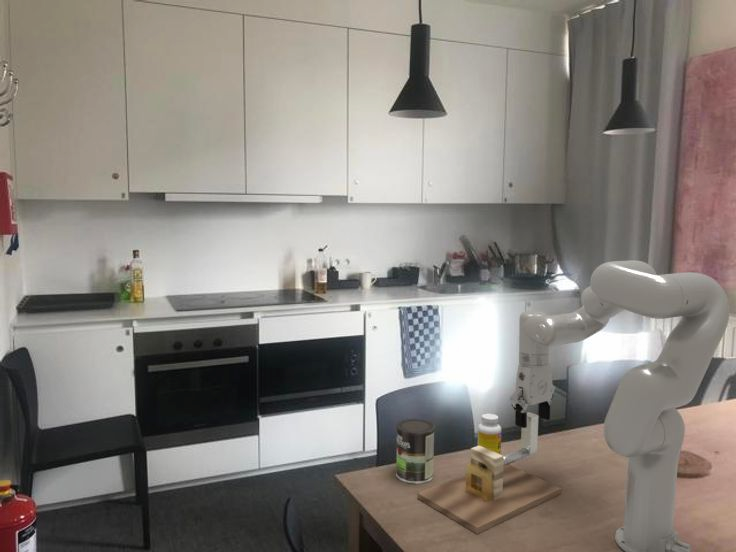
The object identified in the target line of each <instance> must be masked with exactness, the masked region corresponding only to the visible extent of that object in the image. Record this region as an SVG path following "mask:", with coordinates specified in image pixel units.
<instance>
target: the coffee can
mask: <svg viewBox="0 0 736 552" xmlns="http://www.w3.org/2000/svg"><path fill="white" fill-rule="evenodd" d="M435 427H436V426H435V424H434V423H432V421H429V420H424V419H420V418H409V419H408V418H407V419H403V420H400V421H398V422H397V423H396V462H395V463H396V469H395V470H396V471H395V477H396V478H397V479H398V480H399V481H401V482H403V483H407V484H411V485H415V484H416V485H420V484H422V485H423V484H426V483H429V482H431V481H432V480H433V479H434V459H435V457H434V455H435V454H434V452H435V451H434V450H435V448H434V447H435V430H436V429H435Z"/></svg>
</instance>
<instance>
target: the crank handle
mask: <svg viewBox="0 0 736 552" xmlns="http://www.w3.org/2000/svg"><path fill="white" fill-rule="evenodd" d="M526 413H527V427H526V428H522V427H520V428H521V430H520V431H521V433H520V435H521V436H520V449H517V450H515V451H512V452H510V453H507V454H504V455H503V456H504V463H503V466H506V465H511V464H513V463H515V462H519V461H520V460H523V459H526V458H529V457H531V456H534V455H535V454H537V452H538V437H539V414H536V413H532V412H530V411H528V412H526ZM483 468H485V469H487V465H485V464H483Z"/></svg>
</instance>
